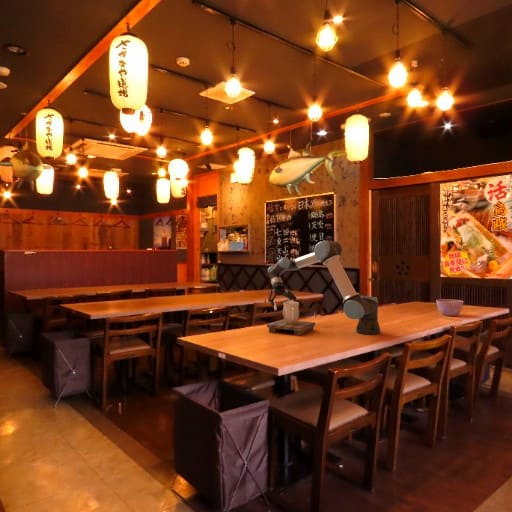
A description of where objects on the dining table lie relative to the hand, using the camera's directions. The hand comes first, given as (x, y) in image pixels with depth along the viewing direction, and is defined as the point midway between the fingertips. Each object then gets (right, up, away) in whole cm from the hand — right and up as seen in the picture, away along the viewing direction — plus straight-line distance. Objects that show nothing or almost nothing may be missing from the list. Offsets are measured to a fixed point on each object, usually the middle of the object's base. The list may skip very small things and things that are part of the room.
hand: (285, 308), depth 288 cm
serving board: (+3, -13, -10) cm, 17 cm away
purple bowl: (+132, -11, +48) cm, 141 cm away
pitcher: (+3, -8, -10) cm, 13 cm away
